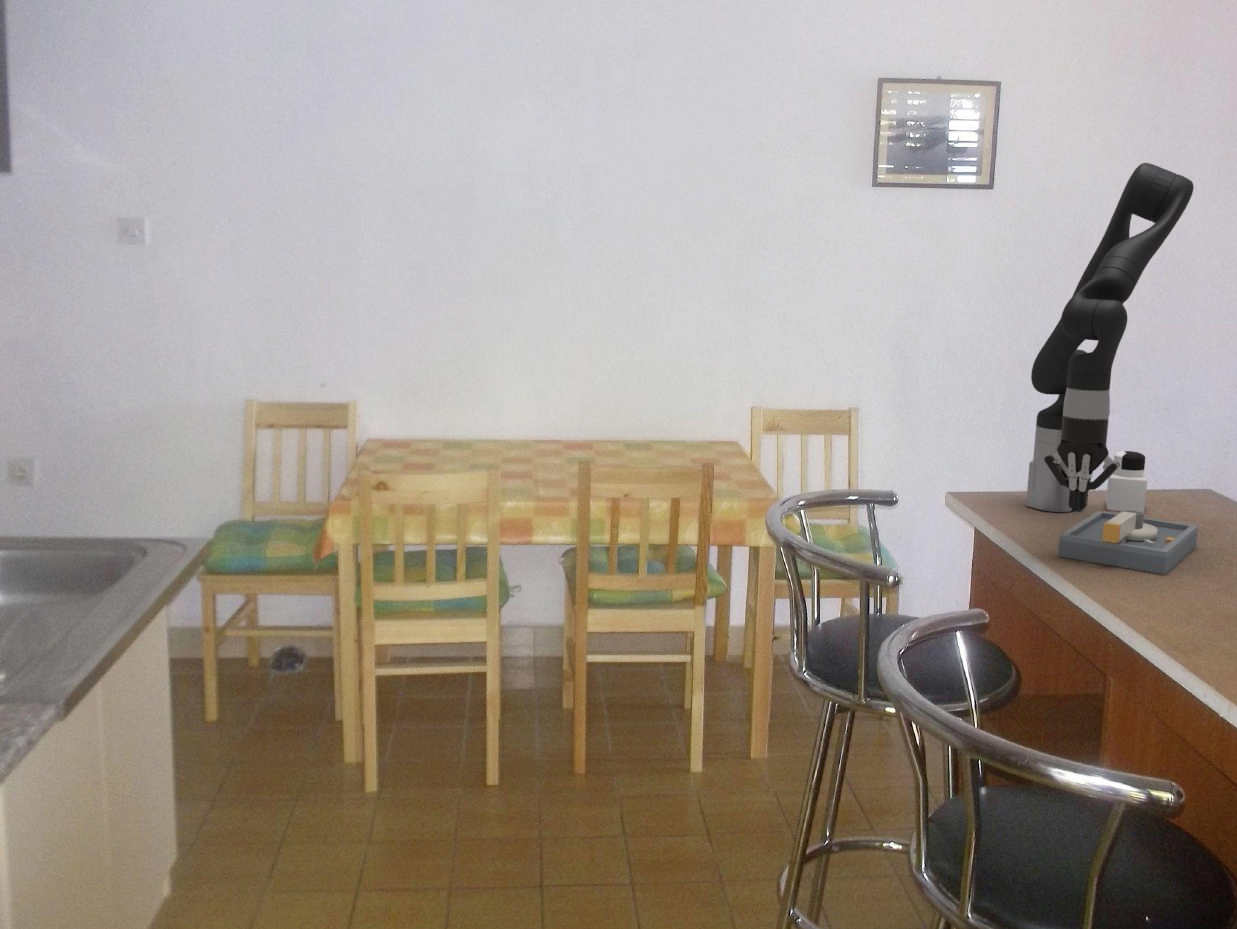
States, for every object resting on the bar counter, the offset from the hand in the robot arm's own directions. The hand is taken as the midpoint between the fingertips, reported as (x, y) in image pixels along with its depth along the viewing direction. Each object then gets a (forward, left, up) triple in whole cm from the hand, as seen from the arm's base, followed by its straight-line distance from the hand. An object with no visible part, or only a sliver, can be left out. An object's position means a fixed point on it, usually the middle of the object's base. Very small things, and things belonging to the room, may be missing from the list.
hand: (1077, 510), depth 217 cm
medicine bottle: (-3, +47, -9) cm, 48 cm away
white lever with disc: (+7, +7, -6) cm, 11 cm away
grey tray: (+6, +11, -9) cm, 16 cm away
